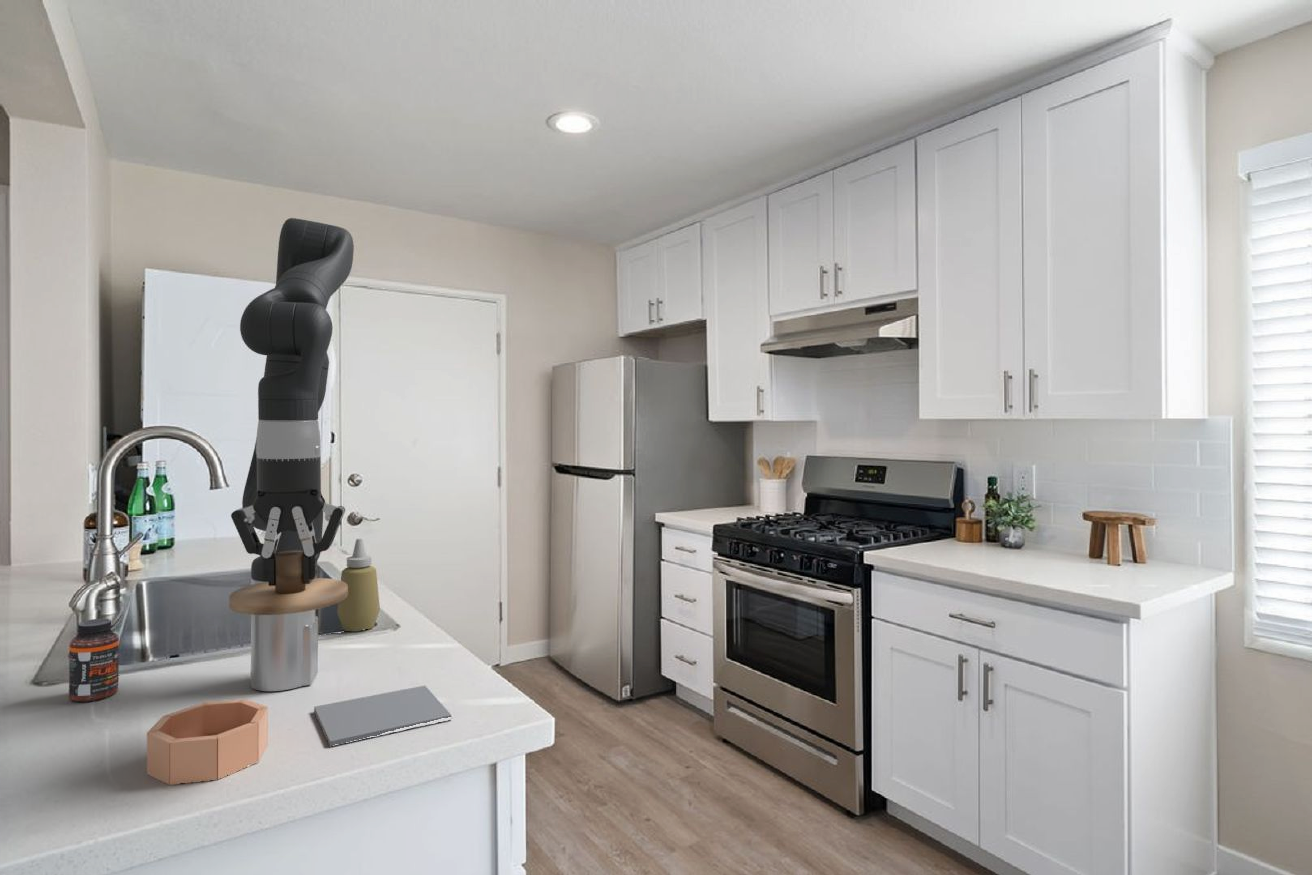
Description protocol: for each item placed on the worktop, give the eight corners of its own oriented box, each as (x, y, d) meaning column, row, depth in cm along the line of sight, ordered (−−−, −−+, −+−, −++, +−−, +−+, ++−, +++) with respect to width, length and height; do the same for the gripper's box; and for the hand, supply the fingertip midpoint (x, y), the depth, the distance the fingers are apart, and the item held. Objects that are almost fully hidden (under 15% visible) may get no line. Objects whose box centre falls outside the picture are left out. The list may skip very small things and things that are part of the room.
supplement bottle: (91, 705, 105) (91, 629, 105) (58, 701, 106) (57, 625, 106) (128, 690, 111) (128, 617, 111) (97, 686, 112) (96, 614, 112)
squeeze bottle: (353, 636, 139) (354, 544, 139) (328, 629, 144) (328, 540, 143) (388, 626, 146) (389, 538, 146) (363, 619, 151) (364, 534, 150)
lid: (354, 583, 104) (354, 541, 104) (338, 611, 90) (338, 562, 90) (247, 589, 100) (246, 545, 100) (213, 618, 87) (212, 567, 86)
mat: (425, 690, 113) (425, 685, 113) (451, 720, 103) (451, 714, 103) (314, 712, 104) (314, 706, 104) (330, 747, 94) (330, 741, 94)
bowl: (274, 733, 97) (274, 696, 97) (250, 776, 86) (250, 735, 86) (173, 742, 94) (173, 704, 94) (134, 788, 83) (134, 745, 82)
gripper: (351, 452, 100) (352, 574, 101) (237, 452, 96) (239, 579, 97) (342, 456, 93) (343, 587, 93) (219, 457, 89) (221, 594, 90)
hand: (290, 583), depth 95 cm, fingers closed on lid, 3 cm apart
